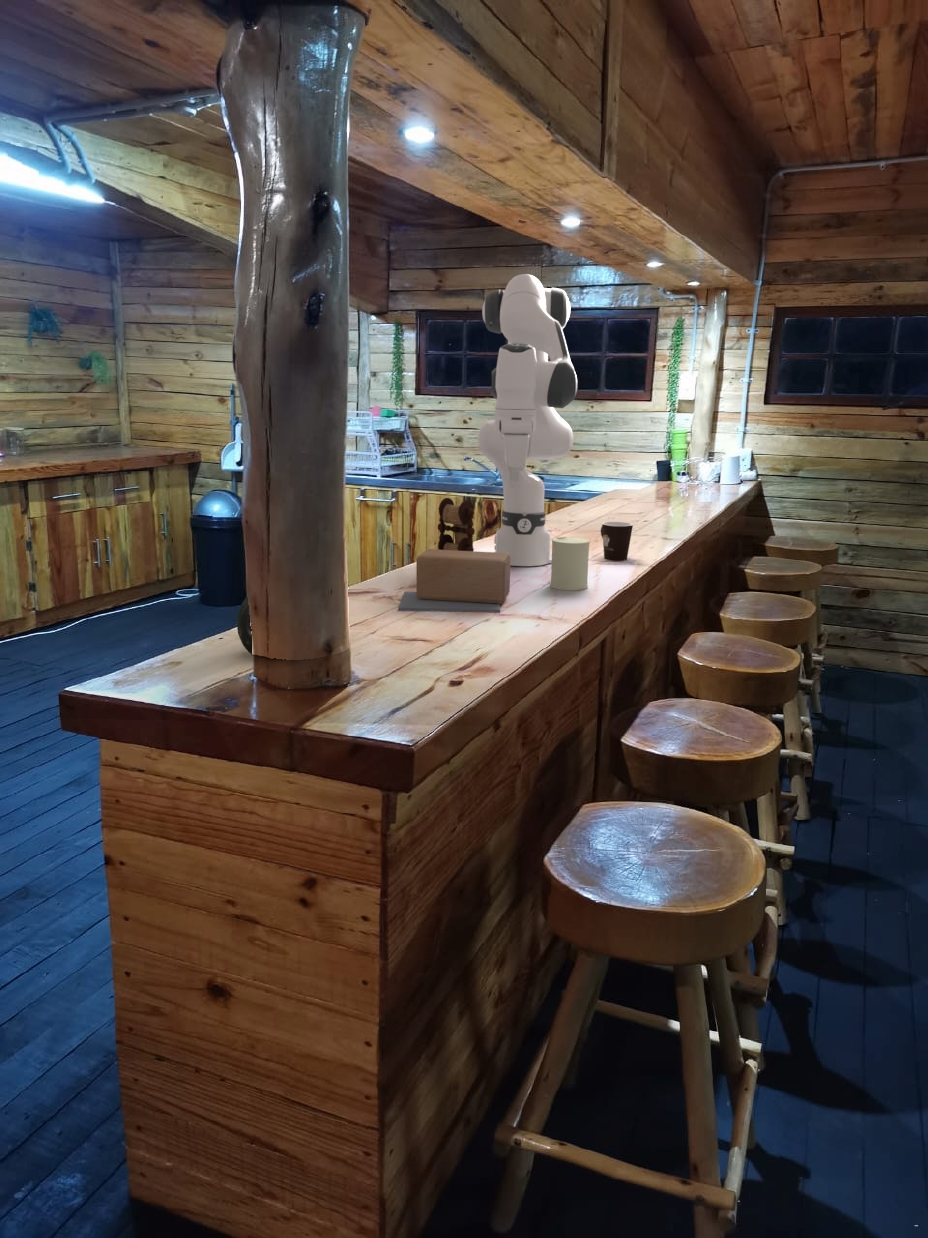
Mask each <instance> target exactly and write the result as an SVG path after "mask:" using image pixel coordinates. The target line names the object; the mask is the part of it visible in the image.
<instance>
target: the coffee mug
mask: <svg viewBox="0 0 928 1238" xmlns="http://www.w3.org/2000/svg"><path fill="white" fill-rule="evenodd" d="M601 525H602V526H601V528H600V535H601V538H602V544H603V558H604V560H607V561H612V562H613V561H614V562H624V561H627V560H628V555H629V549H630V544H631V537H632V531H633V527H634V524H633V523H631V522H625V521H604V522H602V523H601Z"/></svg>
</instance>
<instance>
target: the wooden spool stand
mask: <svg viewBox="0 0 928 1238" xmlns="http://www.w3.org/2000/svg"><path fill="white" fill-rule="evenodd" d="M474 507H475V506H474V504H473V503H472V502H471V500H463V501H462V502H461V503H460V505H455V503H454V501H453V500H452V499H451V498H450V497H445V498H443V499H442V500H441V501H440V502H439V506H438V515H439V518H438V519H439V523H438V525H437V530H438V532H439V536H438V539H439V540H438V544H437V548H438V549H437V550H455V551H474V550H475V548H474V541H473V540H474V538H473V537H474V535H475V528H474V527H473V526H474V522H473V519H474V518H475V517H474V515H475V508H474ZM447 524H449V525H447ZM450 524H451V525H452V526H451V525H450ZM445 532H452V533H453V534H454V538H453V537H452V536H451V535H450V534H447V533H446V534H445Z"/></svg>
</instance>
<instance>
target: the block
mask: <svg viewBox="0 0 928 1238" xmlns="http://www.w3.org/2000/svg"><path fill="white" fill-rule="evenodd" d="M415 561H416V567H415V568H416V572H415V573H416V574H415V575H416V579H415V580H416V584H415V585H416V590H415V592H416V595H417V597H418V598H419V599H426V600H443V601H460V602H477V603H494V604H503V603H504V602H505V600H506V598H507V597H508V596H509V595H510V587H511V586H510V585H511V584H510V583H511V565H510V555H509V554H507V553H496V552H495V551H494V552H493V551H492V552H491V551H455V550H438V549H433V548H432V549H429V548H428V549H426V550H425V551H423V552H422V553H420V555H418V556H417V558H416V560H415Z"/></svg>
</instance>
